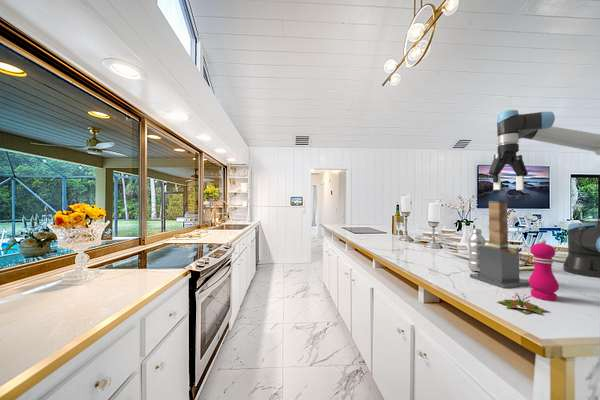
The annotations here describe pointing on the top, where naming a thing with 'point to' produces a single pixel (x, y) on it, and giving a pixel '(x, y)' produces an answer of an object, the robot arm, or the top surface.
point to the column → (498, 224)
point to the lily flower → (520, 302)
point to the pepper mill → (543, 272)
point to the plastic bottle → (475, 249)
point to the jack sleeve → (500, 267)
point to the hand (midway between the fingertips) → (508, 189)
